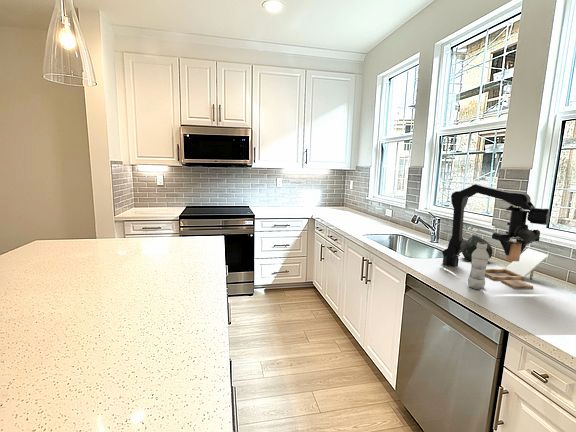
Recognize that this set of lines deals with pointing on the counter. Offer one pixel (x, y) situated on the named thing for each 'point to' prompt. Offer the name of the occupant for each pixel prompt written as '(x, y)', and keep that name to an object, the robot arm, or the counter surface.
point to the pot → (514, 252)
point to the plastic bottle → (478, 266)
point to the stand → (517, 284)
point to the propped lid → (527, 262)
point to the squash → (471, 246)
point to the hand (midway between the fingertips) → (512, 255)
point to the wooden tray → (502, 274)
